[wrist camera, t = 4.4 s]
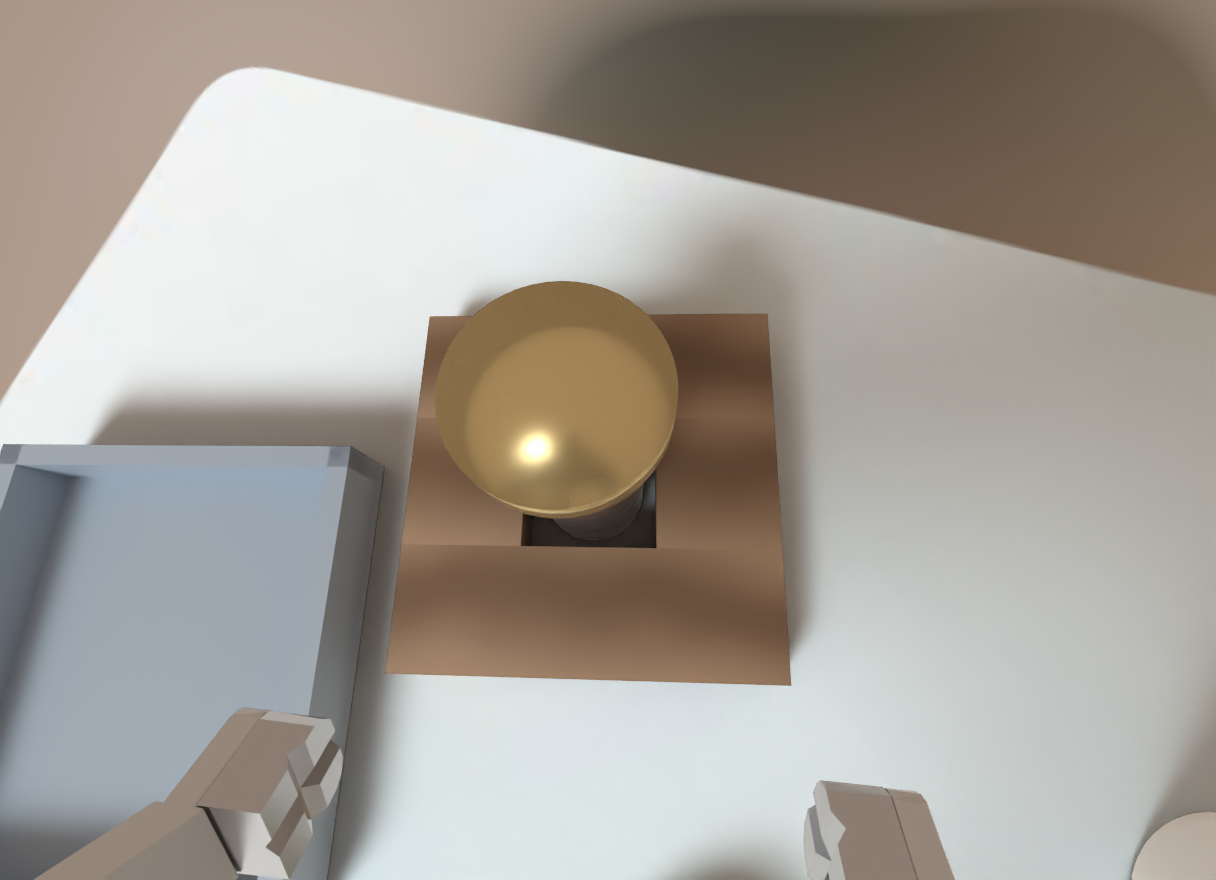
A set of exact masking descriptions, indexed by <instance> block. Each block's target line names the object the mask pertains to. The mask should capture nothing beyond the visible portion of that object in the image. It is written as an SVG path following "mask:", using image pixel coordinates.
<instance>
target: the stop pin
mask: <svg viewBox="0 0 1216 880" xmlns="http://www.w3.org/2000/svg"><path fill="white" fill-rule="evenodd" d="M677 403H678V378H677V370H676V366H675V362H674V358H673V355H672V353H671V350H670V348H669V345H668V343H667V341H666V340H665V338H664V336H663V334H662V332H661V331H660V330H659V328H658V327H657V326H656V324H655V323H654V322H653V321H652V320H651V319H650V317H649V316H648V315H647V314H646V313H645V312H644V311H643V310H641V309H640V308H639V307H637V306H636V305H635V304H634V303H632V302H631V301H629V300H628V299H626V298H624V297H622V296H621V295H619V294H617V293H615V292H612V291H610V290H608V289H605V288H602V287H599V286H595V285H592V284H586V283H580V282H570V281H555V282H544V283H539V284H533V285H529V286H526V287H523V288H520V289H516V290H514V291H512V292H510V293H507V294H505V295H503V296H501V297H499V298H498V299H496V300H494V301H492V302H491V303H489V304H488V305H486V306H485V307H484V308H482V309H481V310H480V311H478V312H477V313H476V314H475V315H474V316H473V317H472V318H471V319H470V320H469V321H468V322H467V323H466V324H465V325H464V326H463V328H462V329H461V330H460V331H459V332H458V334H457V335H456V337H455V338H454V340H453V341H452V343H451V344H450V346H449V348H448V350H447V352H446V354H445V356H444V358H443V361H442V364H441V367H440V370H439V373H438V378H437V383H436V388H435V411H436V419H437V424H438V428H439V432H440V435H441V437H442V440H443V442H444V445H445V447H446V449H447V451H448V452H449V454H450V456H451V458H452V459H453V461H454V462H455V463H456V464H457V466H458V467H459V468H460V470H461V471H462V472H463V473H464V474H465V475H466V476H467V477H468V478H469V479H470V480H471V481H472V482H474V483H475V484H476V485H477V486H478V487H480V488H481V489H482V490H483V491H485V492H486V493H487V494H488V495H490V496H491V497H493V498H494V499H495V500H497V501H498V502H500V503H502V504H503V505H505V506H507V507H509V508H511V509H513V510H516V511H519V512H522V513H524V514H528V515H532V516H537V517H542V518H553V520H554V521H555V522H556V523H557V524H558V525H559V526H560V527H561V528H562V529H563V530H564V531H566V532H567V533H569V534H571V535H573V536H575V537H577V538H580V539H584V540H603V539H607V538H610V537H613V536H615V535H617V534H619V533H621V532H622V531H624V530H625V529H626V528H627V527H628V526H629V525H630V524H631V523H632V522H633V521H634V519H635V518H636V516H637V514H638V512H639V510H640V507H641V504H642V500H643V483H644V482H645V481H646V480H647V479H648V478H649V477H650V476H651V474H652V473H653V472H654V470H655V469H656V467H657V466H658V465H659V463H660V462H661V460H662V458H663V456H664V454H665V452H666V450H667V448H668V445H669V442H670V439H671V436H672V432H673V427H674V422H675V416H676V410H677Z"/></svg>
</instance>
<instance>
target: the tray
mask: <svg viewBox="0 0 1216 880" xmlns="http://www.w3.org/2000/svg"><path fill="white" fill-rule="evenodd" d="M383 472H384V466H383V465H381V464H380V463H378V462H376V461H375V460H373V459H371V458H370V457H368V456H366V455H365V454H363V453H361V452H359V451H358V450H356V449H354V448H353V447H351V446H207V445H30V444H3V447H2V450H1V453H0V880H34V879H35V878H37V877H38V876H40V875H41V874H43V873H45V872H46V871H48V870H49V869H51V868H52V867H54V866H55V865H57V864H58V863H60V862H62V861H63V860H65V859H66V858H68V857H69V856H71V855H72V854H74V853H75V852H77V851H79V850H80V849H82V848H83V847H85V846H86V845H88V844H89V843H91V842H92V841H94V840H96V839H97V838H99V837H100V836H102V835H103V834H105V833H106V832H108V831H109V830H111V829H113V828H114V827H116V826H117V825H119V824H120V823H122V822H123V821H125V820H126V819H128V818H130V817H131V816H133V815H134V814H136V813H137V812H139V811H140V810H142V809H143V808H145V807H147V806H148V805H150V804H151V803H153V802H154V801H159V802H164V801H165V799H166V798H167V797H168V796H169V794H170V793H171V792H172V790H173V789H174V788H175V787H176V785H177V784H178V783H179V781H180V780H181V779H182V778H183V776H184V775H185V774H186V772H187V771H188V770H189V769H190V767H191V766H192V765H193V763H194V762H195V761H196V760H197V758H198V757H199V756H200V754H201V753H202V752H203V751H204V749H205V748H206V747H207V745H208V744H209V743H210V742H211V740H212V739H213V738H214V737H215V735H216V734H217V733H218V731H219V730H220V729H221V728H222V726H223V725H224V724H225V722H226V721H227V720H228V719H229V717H230V716H231V715H232V714H234V713H235V712H236V711H238V710H239V709H240V708H242V707H248V708H257V709H265V710H273V711H277V712H284V713H292V714H299V715H307V716H315V717H323V718H330V719H331V721H332V724H333V727H334V729H335V732H334V734H333V735H332V737H331V740H332V741H333V742H334V743H335V744H337V745H338V746H339V747H340V749H341V753H342V756H343V761H344V754H345V747H346V739H347V732H348V725H349V718H350V710H351V703H352V696H353V689H354V682H355V674H356V667H357V660H358V653H359V646H360V638H361V631H362V624H363V617H364V609H365V602H366V595H367V588H368V581H369V573H370V566H371V559H372V552H373V545H374V537H375V530H376V523H377V516H378V508H379V501H380V494H381V487H382V480H383ZM342 768H343V765H342ZM341 775H342V773H341ZM340 783H341V776H340V780H339V783H338V787H337V790H336V792H335V794H334V795H333V797H332V799H331V801H330V803H329V805H328V807H327V808H326V809H324V810H323V811H322V812H321V813H319V814H318V815H317V816H315V817H314V818H313V819H312V831H313V836H312V838H311V840H310V841H309V843H308V845H307V847H306V849H305V851H304V853H303V855H302V856H301V858H300V860H299V862H298V864H297V866H296V868H295V870H294V871H293V873H292V875H291V877H290V879H281V878H272V877H264V876H256V875H248V874H239V873H237V874H238V878H237V879H236V880H327V876H328V869H329V862H330V855H331V848H332V840H333V833H334V826H335V819H336V811H337V804H338V797H339V790H340Z"/></svg>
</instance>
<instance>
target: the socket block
mask: <svg viewBox="0 0 1216 880" xmlns="http://www.w3.org/2000/svg"><path fill="white" fill-rule="evenodd" d="M648 316H649V317H650V319H651V320H652V321H653V322H654V323H655V324H656V326H657V327H658V328H659V330H660V331H661V332H662V334H663V336H664V338H665V340H666V341H667V343H668V345H669V348H670V350H671V353H672V355H673V358H674V362H675V366H676V370H677V378H678V403H677V410H676V416H675V422H674V427H673V432H672V436H671V439H670V442H669V445H668V448H667V450H666V452H665V454H664V456H663V458H662V460H661V462H660V463H659V465H658V466H657V467H656V469H655V516H656V548H612V547H550V546H531V536H532V520H533V516H532V515H528V514H524V513H522V512H519V511H516V510H513V509H511V508H509V507H507V506H505V505H503V504H502V503H500V502H498V501H497V500H495V499H494V498H493V497H491V496H490V495H488V494H487V493H486V492H485V491H483V490H482V489H481V488H480V487H478V486H477V485H476V484H475V483H474V482H472V481H471V480H470V479H469V478H468V477H467V476H466V475H465V474H464V473H463V472H462V471H461V470H460V468H459V467H458V466H457V464H456V463H455V462H454V461H453V459H452V458H451V456H450V454H449V452H448V451H447V449H446V447H445V445H444V442H443V440H442V437H441V435H440V432H439V428H438V424H437V419H436V411H435V388H436V383H437V378H438V373H439V370H440V367H441V364H442V361H443V358H444V356H445V354H446V352H447V350H448V348H449V346H450V344H451V343H452V341H453V340H454V338H455V337H456V335H457V334H458V332H459V331H460V330H461V329H462V328H463V326H464V325H465V324H466V323H467V322H468V321H469V320H470V319H471V318H472V317H473V316H434V317H430V319H429V327H428V335H427V343H426V351H425V359H424V367H423V375H422V383H421V391H420V399H419V407H418V415H417V423H416V431H415V439H414V447H413V455H412V463H411V471H410V479H409V487H408V495H407V503H406V511H405V519H404V527H403V535H402V543H401V551H400V559H399V567H398V575H397V583H396V591H395V599H394V607H393V615H392V623H391V631H390V639H389V647H388V655H387V663H386V671H385V673H389V674H422V675H455V676H489V677H522V678H555V679H588V680H622V681H655V682H688V683H722V684H755V685H788V686H791V675H790V659H789V644H788V628H787V612H786V597H785V581H784V565H783V550H782V534H781V518H780V503H779V487H778V472H777V456H776V440H775V425H774V409H773V393H772V378H771V362H770V346H769V331H768V315H767V314H675V315H648Z"/></svg>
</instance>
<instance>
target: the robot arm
mask: <svg viewBox="0 0 1216 880" xmlns="http://www.w3.org/2000/svg"><path fill="white" fill-rule="evenodd" d="M334 732H335V729H334V727H333V724H332V721H331V719H330V718H323V717H315V716H307V715H299V714H292V713H284V712H277V711H273V710H265V709H257V708H248V707H242V708H240V709H239V710H238V711H236V712H235V713H234V714H232V715H231V716H230V717H229V719H228V720H227V721H226V722H225V724H224V725H223V726H222V728H221V729H220V730H219V731H218V733H217V734H216V735H215V737H214V738H213V739H212V740H211V742H210V743H209V744H208V745H207V747H206V748H205V749H204V751H203V752H202V753H201V754H200V756H199V757H198V758H197V760H196V761H195V762H194V763H193V765H192V766H191V767H190V769H189V770H188V771H187V772H186V774H185V775H184V776H183V778H182V779H181V780H180V781H179V783H178V784H177V785H176V787H175V788H174V789H173V790H172V792H171V793H170V794H169V796H168V797H167V798H166V799H165V801H164V802H159V801H154V802H153V803H151V804H150V805H148V806H147V807H145V808H143V809H142V810H140V811H139V812H137V813H136V814H134V815H133V816H131V817H130V818H128V819H126V820H125V821H123V822H122V823H120V824H119V825H117V826H116V827H114V828H113V829H111V830H109V831H108V832H106V833H105V834H103V835H102V836H100V837H99V838H97V839H96V840H94V841H92V842H91V843H89V844H88V845H86V846H85V847H83V848H82V849H80V850H79V851H77V852H75V853H74V854H72V855H71V856H69V857H68V858H66V859H65V860H63V861H62V862H60V863H58V864H57V865H55V866H54V867H52V868H51V869H49V870H48V871H46V872H45V873H43V874H41V875H40V876H38V877H37V878H35V879H34V880H236V879H237V878H238V874H237V873H239V874H248V875H256V876H264V877H272V878H281V879H290V877H291V875H292V873H293V871H294V870H295V868H296V866H297V864H298V862H299V860H300V858H301V856H302V855H303V853H304V851H305V849H306V847H307V845H308V843H309V841H310V840H311V838H312V836H313V831H312V819H313V818H314V817H315V816H317V815H318V814H319V813H321V812H322V811H323V810H324V809H326V808H327V807H328V805H329V803H330V801H331V799H332V797H333V795H334V794H335V792H336V790H337V787H338V783H339V780H340V776H341V773H342V765H343V756H342V753H341V749H340V747H339V746H338V745H337V744H335V743H334V742H333V741H332V740H331V737H332V735H333V734H334ZM813 794H814V799H815V806H813V807H811V808H809V809H808V811H807V815H806V819H805V823H804V851H805V860H806V866H807V873H808V876H809V877H810V879H811V880H955V879H954V876H953V873H952V871H951V868H950V865H949V862H948V860H947V857H946V854H945V851H944V849H943V846H942V843H941V840H940V838H939V835H938V832H937V829H936V827H935V824H934V821H933V818H932V816H931V813H930V810H929V807H928V805H927V802H926V801H925V799H924V798H923V797H922V795H921V794H919V793H917V792H914V791H906V790H897V789H888V788H883V787H878V786H868V785H859V784H850V783H841V782H831V781H822V780H820V781H819V782H817V783H816V786H815V789H814V792H813Z"/></svg>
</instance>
